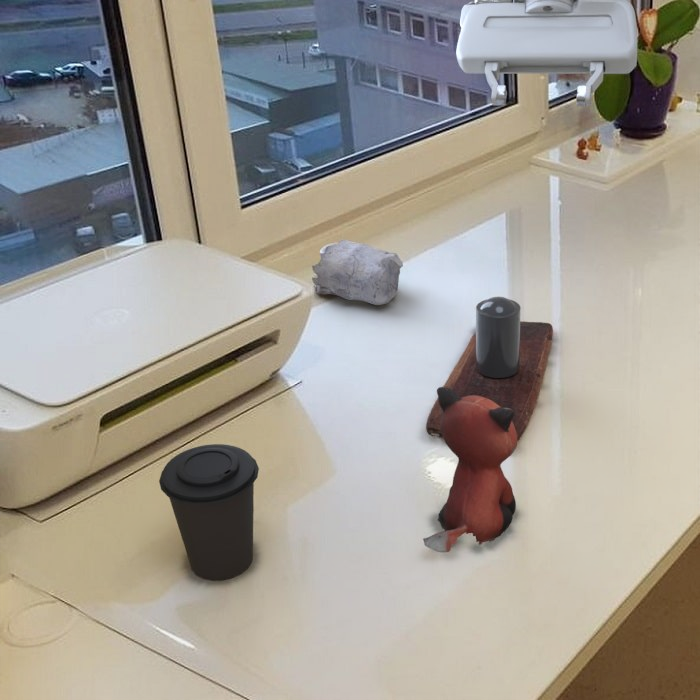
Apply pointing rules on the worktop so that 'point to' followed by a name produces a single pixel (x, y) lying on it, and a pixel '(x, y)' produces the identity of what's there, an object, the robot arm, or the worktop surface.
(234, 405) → the worktop surface
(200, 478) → the coffee cup
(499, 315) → the dome-topped grey canister
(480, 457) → the stuffed fox
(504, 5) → the robot arm
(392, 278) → the stone
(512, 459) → the worktop surface
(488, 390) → the wooden tablet
